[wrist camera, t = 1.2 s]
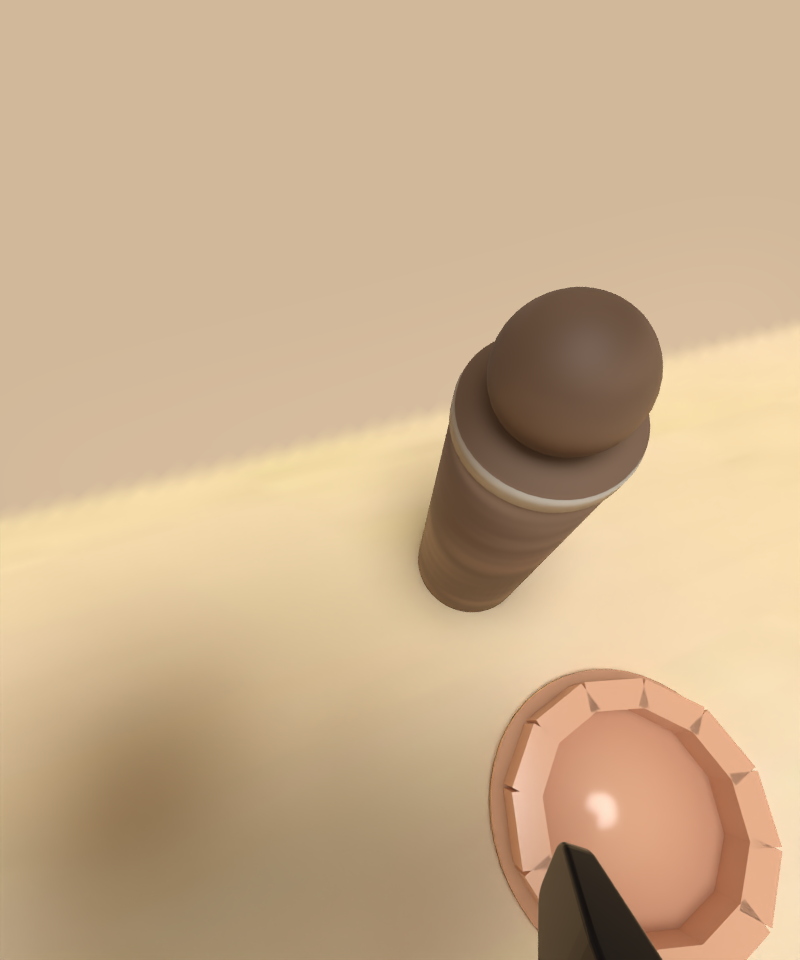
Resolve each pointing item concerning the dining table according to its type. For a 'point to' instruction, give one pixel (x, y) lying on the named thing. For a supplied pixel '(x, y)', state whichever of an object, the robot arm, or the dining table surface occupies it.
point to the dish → (640, 810)
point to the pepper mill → (537, 441)
